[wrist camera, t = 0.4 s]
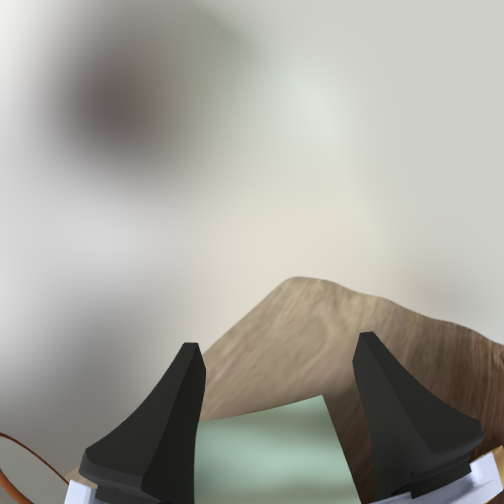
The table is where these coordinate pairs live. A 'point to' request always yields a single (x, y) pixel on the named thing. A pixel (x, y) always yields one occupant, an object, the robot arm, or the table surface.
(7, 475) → the magnifying glass
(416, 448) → the robot arm
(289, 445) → the socket shed
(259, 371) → the table surface
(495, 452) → the peg
